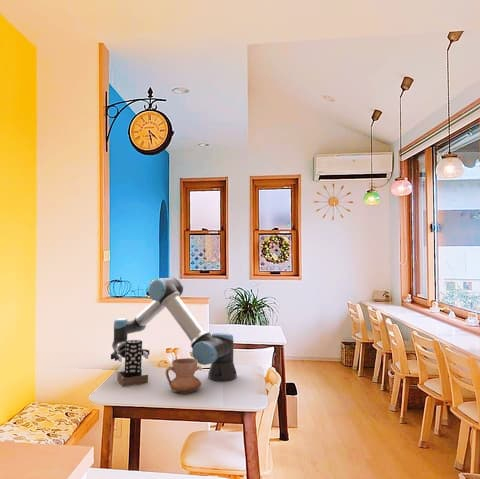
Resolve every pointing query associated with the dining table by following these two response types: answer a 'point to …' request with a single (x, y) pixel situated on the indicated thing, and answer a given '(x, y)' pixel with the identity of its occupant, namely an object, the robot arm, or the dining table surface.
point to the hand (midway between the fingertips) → (134, 357)
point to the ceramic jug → (184, 375)
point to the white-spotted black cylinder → (133, 358)
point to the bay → (131, 379)
